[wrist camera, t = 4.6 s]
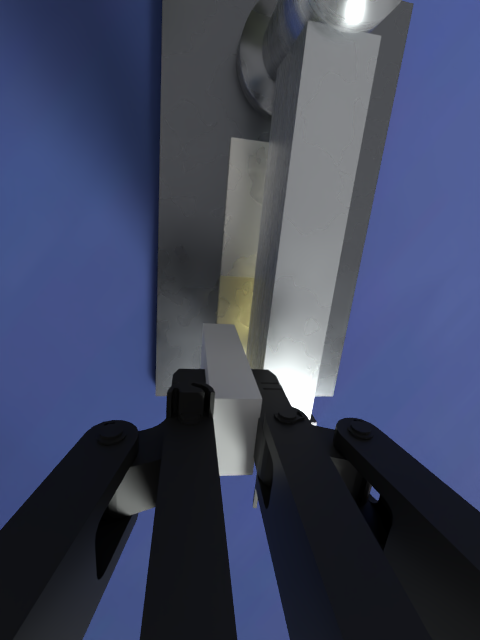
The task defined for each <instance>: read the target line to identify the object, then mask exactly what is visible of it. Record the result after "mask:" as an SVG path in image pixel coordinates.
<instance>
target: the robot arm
mask: <svg viewBox="0 0 480 640" xmlns="http://www.w3.org/2000/svg"><path fill="white" fill-rule="evenodd" d="M254 461H255V465H256V469H257V476H256V484H255V491H254V498H253V508H257V501H259V505H260V509H261V514H262V518H263V523H264V527H265V531H266V536H267V540H268V545H269V549H270V554H271V558H272V562H273V567H274V571H275V576H276V580H277V584H278V589H279V593H280V598H281V602H282V606H283V611H284V615H285V620H286V624H287V628H288V633H289V637H290V640H480V512H479V511H478V510H477V509H475V508H474V507H473V506H472V505H471V504H469V503H468V502H467V501H466V500H464V499H463V498H462V497H461V496H460V495H458V494H457V493H456V492H455V491H454V490H452V489H451V488H450V487H449V486H447V485H446V484H445V483H444V482H443V481H441V480H440V479H439V478H438V477H437V476H435V475H434V474H433V473H432V472H430V471H429V470H428V469H427V468H426V467H424V466H423V465H422V464H421V463H420V462H418V461H417V460H416V459H415V458H413V457H412V456H411V455H410V454H409V453H407V452H406V451H405V450H404V449H403V448H401V447H400V446H399V445H398V444H396V443H395V442H394V441H393V440H392V439H390V438H389V437H388V436H387V435H386V434H384V433H383V432H382V431H381V430H379V429H378V428H377V427H375V426H374V425H372V424H371V423H369V422H366V421H364V420H362V419H357V418H344V419H341V420H339V421H338V423H337V424H336V428H335V430H333V429H328V428H323V427H319V426H315V425H312V424H311V422H310V420H309V418H308V417H307V416H306V414H305V413H304V412H302V411H301V410H299V409H297V408H295V407H292V405H291V403H290V402H289V400H288V398H287V396H286V394H285V392H284V390H283V388H282V386H281V384H280V382H279V380H278V378H277V376H276V375H275V374H273V373H272V372H271V371H269V370H268V369H251V367H250V365H249V362H248V359H247V357H246V354H245V351H244V349H243V346H242V343H241V341H240V338H239V335H238V333H237V330H236V327H235V325H234V324H211V323H203V332H202V348H201V364H200V369H178V370H177V371H176V372H175V373H174V374H173V377H172V386H171V387H169V389H168V391H167V408H166V419H165V420H164V421H163V422H162V423H161V424H159V425H157V426H155V427H153V428H150V429H146V430H142V431H138V430H137V427H136V426H135V425H133V424H132V423H130V422H127V421H123V420H111V421H106V422H102V423H100V424H98V425H95V426H93V427H92V428H91V429H90V430H88V431H87V432H86V433H85V434H84V435H83V436H82V438H81V439H80V440H79V441H78V442H77V443H76V444H75V446H74V447H73V448H72V449H71V450H70V451H69V452H68V454H67V455H66V456H65V457H64V458H63V459H62V460H61V462H60V463H59V464H58V465H57V466H56V467H55V468H54V470H53V471H52V472H51V473H50V474H49V475H48V476H47V478H46V479H45V480H44V481H43V482H42V483H41V484H40V486H39V487H38V488H37V489H36V490H35V491H34V492H33V494H32V495H31V496H30V497H29V498H28V499H27V500H26V502H25V503H24V504H23V505H22V506H21V507H20V508H19V510H18V511H17V512H16V513H15V514H14V515H13V516H12V518H11V519H10V520H9V521H8V522H7V523H6V524H5V526H4V527H3V528H2V529H1V530H0V640H82V639H83V637H84V635H85V633H86V631H87V628H88V626H89V624H90V622H91V619H92V617H93V615H94V613H95V611H96V608H97V606H98V604H99V602H100V600H101V597H102V595H103V593H104V591H105V589H106V586H107V584H108V582H109V580H110V578H111V575H112V573H113V571H114V569H115V566H116V564H117V562H118V560H119V558H120V555H121V553H122V551H123V549H124V547H125V544H126V542H127V540H128V538H129V536H130V533H131V531H132V529H133V527H134V525H135V522H136V520H137V517H138V513H139V512H142V511H145V510H148V509H151V508H154V507H156V508H155V517H154V525H153V533H152V542H151V550H150V559H149V567H148V575H147V584H146V592H145V601H144V609H143V617H142V626H141V634H140V640H237V633H236V624H235V615H234V606H233V596H232V587H231V578H230V569H229V559H228V550H227V541H226V532H225V522H224V513H223V504H222V495H221V485H220V476H226V475H252V474H253V467H254ZM372 486H373V487H374V488H375V489H376V491H377V492H378V493H379V494H380V497H379V500H378V501H377V500H376V499H374V498H373V497H372V496H371V494H370V490H371V487H372Z"/></svg>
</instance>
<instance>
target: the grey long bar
mask: <svg viewBox="0 0 480 640" xmlns="http://www.w3.org/2000/svg"><path fill="white" fill-rule="evenodd" d="M401 1H402V0H278V2H277V4H276V7H275V9H274V11H273V14H272V16H271V19H270V21H269V23H268V26H267V28H266V30H265V33H264V37H263V42H262V58H263V63H264V67H265V69H266V72H267V74H268V75H269V77H270V79H271V80H272V81H273V82H274V83H275V93H274V102H273V112H272V121H271V130H270V139H269V148H268V158H267V167H266V176H265V185H264V194H263V204H262V213H261V222H260V231H259V241H258V250H257V259H256V268H255V277H254V287H253V296H252V305H251V314H250V323H249V333H248V342H247V351H246V357H247V359H248V362H249V365H250V367H251V369H268V370H269V371H271V372H272V373H273V374H275V375H276V376H277V378H278V380H279V382H280V384H281V386H282V388H283V390H284V392H285V394H286V396H287V398H288V400H289V402H290V403H291V405H292V407H295V408H297V409H299V410H301V411H302V412H304V413H305V414H306V416H307V417H308V418H309V420H310V422H311V424H312V425H315V426H316V425H317V422H316V420H315V418H314V417H313V415H312V413H311V412H312V407H313V401H314V396H315V391H316V385H317V380H318V374H319V369H320V364H321V358H322V353H323V348H324V342H325V337H326V331H327V326H328V321H329V315H330V310H331V304H332V299H333V294H334V288H335V283H336V278H337V272H338V267H339V261H340V256H341V251H342V245H343V240H344V235H345V229H346V224H347V218H348V213H349V208H350V202H351V197H352V192H353V186H354V181H355V175H356V170H357V165H358V159H359V154H360V149H361V143H362V138H363V132H364V127H365V122H366V116H367V111H368V105H369V100H370V95H371V89H372V84H373V79H374V73H375V68H376V62H377V57H378V52H379V46H380V41H381V36H380V35H375V34H370V32H371V31H372V30H373V29H374V28H375V27H376V26H377V25H378V24H379V23H380V22H381V21H382V20H383V19H385V18H386V17H387V16H388V15H389V14H390V13H391V12H392V11H393V10H394V9H395V8H396V7H397V6H398V5H399V3H400V2H401ZM254 462H255V461H254Z"/></svg>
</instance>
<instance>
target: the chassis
mask: <svg viewBox="0 0 480 640" xmlns="http://www.w3.org/2000/svg"><path fill="white" fill-rule="evenodd" d="M277 2H278V0H162V57H161V114H160V172H159V230H158V288H157V345H156V396H167V391H168V389H169V387H171V386H172V377H173V374H174V373H175V372H176V371H177V370H178V369H200V364H201V348H202V332H203V323H211V324H234V325H235V327H236V330H237V333H238V335H239V338H240V341H241V343H242V346H243V349H244V351H245V354H246V351H247V342H248V333H249V323H250V314H251V305H252V296H253V287H254V277H255V268H256V259H257V250H258V241H259V231H260V222H261V213H262V204H263V194H264V185H265V176H266V167H267V158H268V148H269V139H270V130H271V121H272V112H273V102H274V93H275V83H274V82H273V81H272V80H271V79H270V77H269V75H268V74H267V72H266V69H265V67H264V63H263V58H262V42H263V37H264V33H265V30H266V28H267V26H268V23H269V21H270V19H271V16H272V14H273V11H274V9H275V7H276V4H277ZM412 9H413V3H408V2H404V1H401V2H400V3H399V5H398V6H397V7H396V8H395V9H394V10H393V11H392V12H391V13H390V14H389V15H388V16H387V17H386V18H385V19H383V20H382V21H381V22H380V23H379V24H378V25H377V26H376V27H375V28H374V29H373V30H372V31H371V32H370V34H375V35H380V36H381V41H380V46H379V52H378V57H377V62H376V68H375V73H374V79H373V84H372V89H371V95H370V100H369V105H368V111H367V116H366V122H365V127H364V132H363V138H362V143H361V149H360V154H359V159H358V165H357V170H356V175H355V181H354V186H353V192H352V197H351V202H350V208H349V213H348V218H347V224H346V229H345V235H344V240H343V245H342V251H341V256H340V261H339V267H338V272H337V278H336V283H335V288H334V294H333V299H332V304H331V310H330V315H329V321H328V326H327V331H326V337H325V342H324V348H323V353H322V358H321V364H320V369H319V374H318V380H317V385H316V391H315V396H333V393H334V388H335V384H336V379H337V374H338V369H339V364H340V359H341V354H342V350H343V345H344V340H345V335H346V330H347V325H348V320H349V315H350V311H351V306H352V301H353V296H354V291H355V286H356V281H357V277H358V272H359V267H360V262H361V257H362V252H363V247H364V242H365V238H366V233H367V228H368V223H369V218H370V213H371V208H372V204H373V199H374V194H375V189H376V184H377V179H378V174H379V170H380V165H381V160H382V155H383V150H384V145H385V140H386V135H387V131H388V126H389V121H390V116H391V111H392V106H393V101H394V97H395V92H396V87H397V82H398V77H399V72H400V67H401V62H402V58H403V53H404V48H405V43H406V38H407V33H408V28H409V24H410V19H411V14H412Z"/></svg>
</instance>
